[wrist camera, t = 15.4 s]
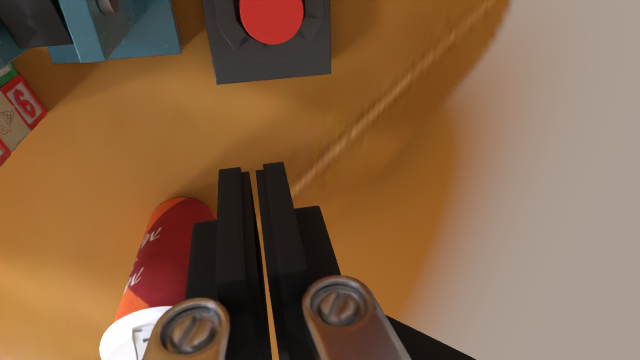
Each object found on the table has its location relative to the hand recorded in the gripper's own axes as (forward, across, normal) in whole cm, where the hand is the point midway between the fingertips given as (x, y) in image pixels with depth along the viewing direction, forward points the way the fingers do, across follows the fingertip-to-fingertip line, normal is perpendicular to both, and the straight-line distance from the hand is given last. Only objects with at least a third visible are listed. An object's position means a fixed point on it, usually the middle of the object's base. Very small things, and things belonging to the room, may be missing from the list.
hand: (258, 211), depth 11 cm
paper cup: (+21, +7, +16) cm, 28 cm away
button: (+18, -2, -2) cm, 18 cm away
